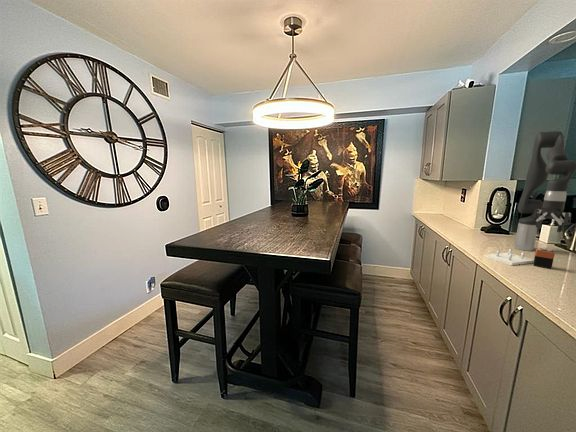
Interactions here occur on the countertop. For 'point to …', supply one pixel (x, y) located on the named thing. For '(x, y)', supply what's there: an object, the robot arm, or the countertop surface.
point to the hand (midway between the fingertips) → (548, 230)
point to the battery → (544, 258)
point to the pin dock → (510, 258)
